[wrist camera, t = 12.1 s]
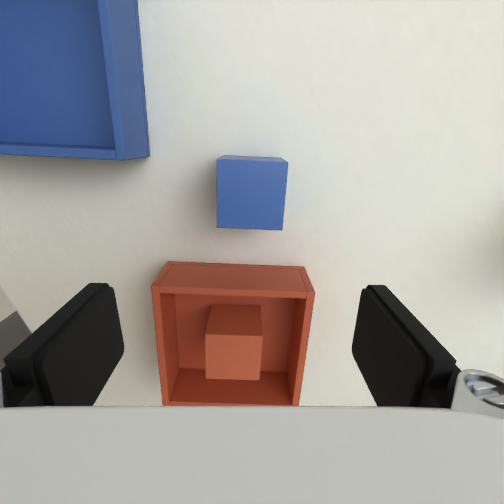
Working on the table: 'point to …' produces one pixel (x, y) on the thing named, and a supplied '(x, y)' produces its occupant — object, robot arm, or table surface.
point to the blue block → (251, 192)
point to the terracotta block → (233, 342)
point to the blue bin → (72, 79)
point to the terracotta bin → (195, 323)
